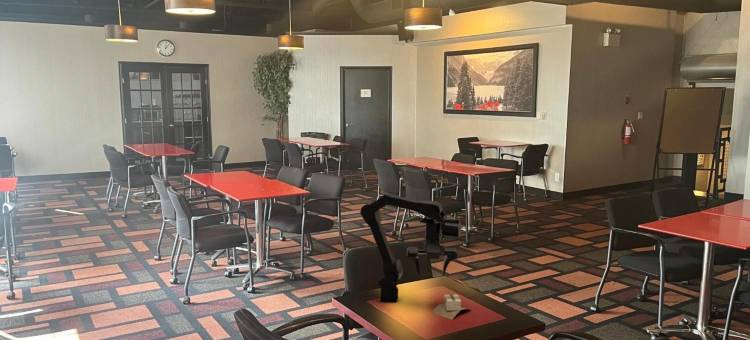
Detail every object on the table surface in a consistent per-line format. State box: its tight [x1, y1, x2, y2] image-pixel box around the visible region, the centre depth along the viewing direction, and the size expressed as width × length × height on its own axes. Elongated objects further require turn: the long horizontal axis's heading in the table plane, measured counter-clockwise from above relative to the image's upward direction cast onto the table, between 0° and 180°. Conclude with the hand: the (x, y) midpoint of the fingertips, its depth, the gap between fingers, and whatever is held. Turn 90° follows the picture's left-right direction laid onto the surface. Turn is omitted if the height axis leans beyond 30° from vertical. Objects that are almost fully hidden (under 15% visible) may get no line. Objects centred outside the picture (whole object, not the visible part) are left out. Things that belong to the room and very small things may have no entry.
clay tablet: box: [431, 302, 470, 321], centre depth 216 cm, size 14×10×3 cm
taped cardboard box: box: [443, 294, 462, 311], centre depth 215 cm, size 7×5×4 cm
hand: (430, 274), depth 222 cm, fingers open, 9 cm apart
